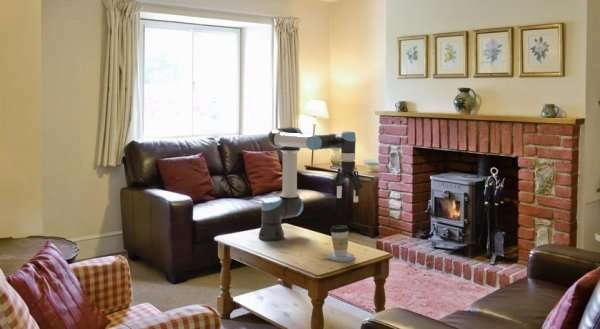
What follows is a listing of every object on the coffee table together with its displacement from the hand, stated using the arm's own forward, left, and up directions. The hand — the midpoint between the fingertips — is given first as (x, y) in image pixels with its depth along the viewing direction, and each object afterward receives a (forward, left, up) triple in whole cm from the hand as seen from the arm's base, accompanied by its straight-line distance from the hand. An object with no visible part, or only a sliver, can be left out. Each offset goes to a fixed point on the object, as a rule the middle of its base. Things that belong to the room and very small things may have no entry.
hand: (347, 200), depth 312 cm
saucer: (+12, -2, -29) cm, 31 cm away
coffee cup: (+12, -2, -27) cm, 30 cm away
